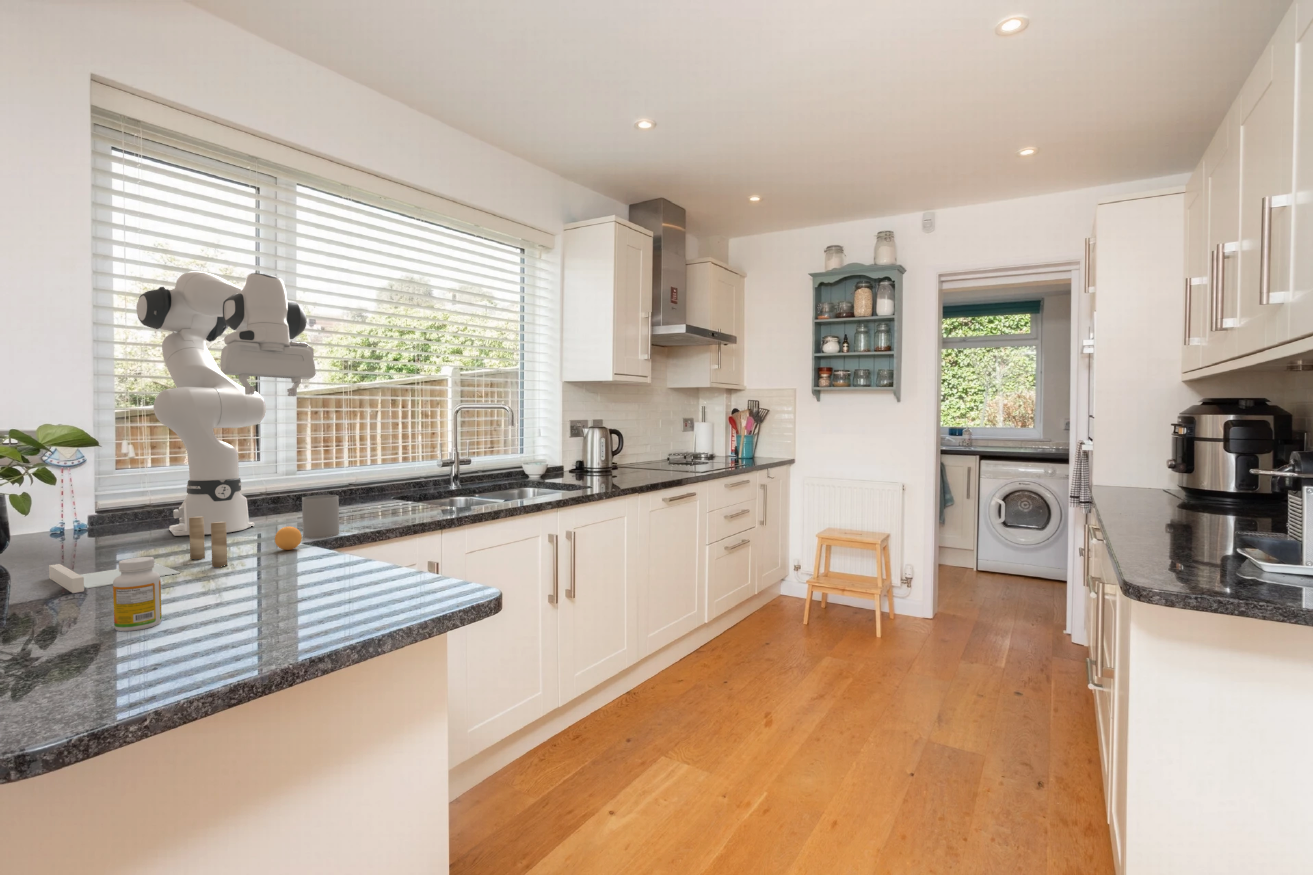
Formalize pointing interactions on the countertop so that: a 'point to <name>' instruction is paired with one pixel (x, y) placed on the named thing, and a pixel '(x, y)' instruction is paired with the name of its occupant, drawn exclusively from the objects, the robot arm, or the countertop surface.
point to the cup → (320, 516)
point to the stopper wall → (66, 578)
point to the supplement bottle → (137, 595)
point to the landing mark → (109, 576)
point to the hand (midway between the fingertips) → (271, 395)
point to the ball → (288, 538)
